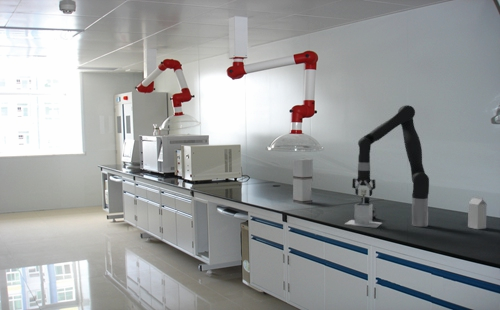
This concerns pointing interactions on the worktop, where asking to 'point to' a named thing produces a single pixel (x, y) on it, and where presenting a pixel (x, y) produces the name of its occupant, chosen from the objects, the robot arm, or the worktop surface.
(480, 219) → the milk carton
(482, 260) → the worktop surface
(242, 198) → the worktop surface
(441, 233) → the worktop surface
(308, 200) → the grey banded column
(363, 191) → the plunger
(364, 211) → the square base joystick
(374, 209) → the scope
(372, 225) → the tray
